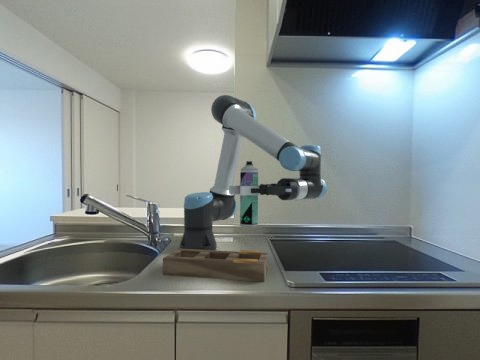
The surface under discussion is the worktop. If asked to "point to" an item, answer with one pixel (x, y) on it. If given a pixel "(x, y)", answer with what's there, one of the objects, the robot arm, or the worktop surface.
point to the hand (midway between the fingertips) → (235, 190)
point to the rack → (217, 264)
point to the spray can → (249, 196)
